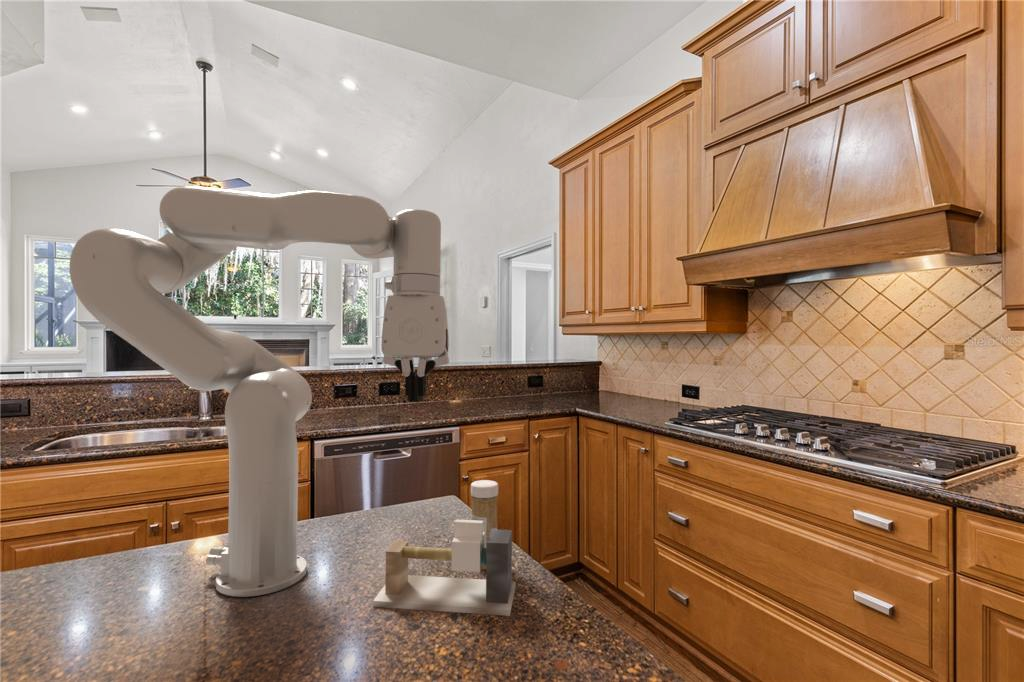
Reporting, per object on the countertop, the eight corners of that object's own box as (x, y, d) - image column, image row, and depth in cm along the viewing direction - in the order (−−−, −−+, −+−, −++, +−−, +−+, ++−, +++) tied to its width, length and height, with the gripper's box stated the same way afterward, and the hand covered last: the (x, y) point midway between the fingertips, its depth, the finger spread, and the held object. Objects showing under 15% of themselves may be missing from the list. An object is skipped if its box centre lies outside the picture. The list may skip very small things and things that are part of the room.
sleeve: (451, 570, 68) (452, 525, 69) (457, 557, 73) (458, 515, 73) (479, 572, 68) (480, 527, 68) (484, 559, 72) (485, 516, 72)
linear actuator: (372, 606, 68) (373, 541, 68) (393, 579, 76) (393, 520, 76) (509, 615, 66) (510, 548, 66) (515, 586, 74) (516, 526, 74)
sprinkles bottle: (502, 566, 81) (503, 483, 81) (478, 573, 78) (479, 488, 78) (488, 556, 84) (489, 477, 85) (465, 562, 82) (465, 481, 82)
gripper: (363, 285, 77) (361, 402, 77) (456, 285, 75) (455, 404, 75) (381, 291, 84) (379, 397, 84) (466, 290, 83) (465, 399, 83)
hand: (415, 400), depth 80 cm, fingers closed
